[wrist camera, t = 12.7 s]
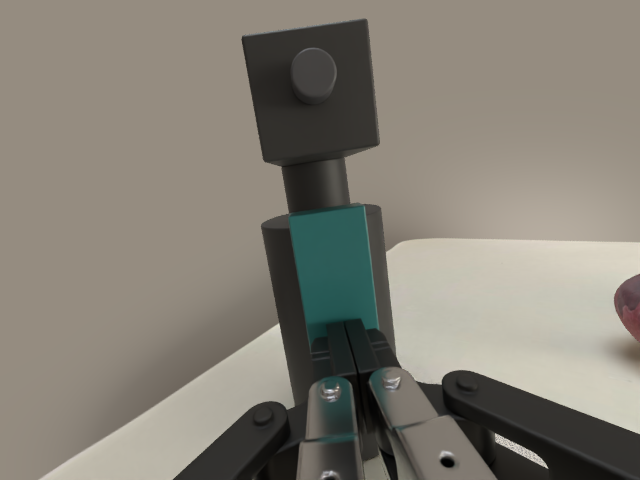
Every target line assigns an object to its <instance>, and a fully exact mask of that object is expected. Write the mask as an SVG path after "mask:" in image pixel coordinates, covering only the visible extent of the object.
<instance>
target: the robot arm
mask: <svg viewBox="0 0 640 480" xmlns="http://www.w3.org/2000/svg"><path fill="white" fill-rule="evenodd" d="M344 327H345V328H344ZM326 328H327V335H328V336H324V337H318V338H315V339H314V341H313V342H312V344H311V365H312V384H313V385H312V386H311V388H310V390H309V397H308V398H307V399H306V400H305V401H304V402H302V403H301V404H299V405H297V406H295V407H293V408H291V409H288V410H286V408H285V407H284V406H283V405H282V404H281V403H278V402H273V401H269V402H263V403H260V404H257V405H255V406H254V407H252V408H251V409H249V410H248V411H247V412H246V413H245V414H244V415H243V416H241V417H240V418H239V419H238V420H237V421H236V422H235V423H234V424H233V425H232V426H231V427H229V428H228V429H227V430H226V431H225V432H224V433H223V434H222V435H221V436H220V437H219V438H217V439H216V440H215V441H214V442H213V443H212V444H211V445H210V446H209V447H208V448H207V449H205V450H204V451H203V452H202V453H201V454H200V455H199V456H198V457H197V458H196V459H195V460H193V461H192V462H191V463H190V464H189V465H188V466H187V467H186V468H185V469H184V470H183V471H181V472H180V473H179V474H178V475H177V476H176V477H175V478H174V479H173V480H365V475H364V467H363V459H362V451H363V445H362V437H361V436H362V435H365V428H364V423H365V427H366V431H367V434H372V433H375V436H376V440H377V447H378V454H379V458H380V461H381V463H382V466H383V469H384V472H385V475H386V477H387V480H640V434H638V433H635V432H632V431H630V430H627V429H624V428H622V427H619V426H616V425H614V424H611V423H608V422H606V421H603V420H600V419H598V418H595V417H592V416H590V415H587V414H584V413H582V412H579V411H576V410H574V409H571V408H568V407H566V406H563V405H560V404H558V403H555V402H552V401H550V400H547V399H544V398H542V397H539V396H536V395H534V394H531V393H528V392H526V391H523V390H521V389H518V388H515V387H513V386H510V385H507V384H505V383H502V382H499V381H497V380H494V379H491V378H489V377H486V376H483V375H481V374H478V373H475V372H471V371H465V370H458V371H453V372H450V373H448V374H446V375H445V376H444V377H443V379H442V385H438V384H425V383H420V382H417V381H415V380H414V378H413V377H412V375H411V374H410V373H409V372H408V371H406V370H404V369H402V368H401V366H400V364H399V362H398V360H397V358H396V356H395V354H394V352H393V351H392V349H391V347H390V345H389V343H388V341H387V339H386V337H385V335H384V333H382V332H381V331H379V330H378V329H376V328H373V329H367V330H366V329H365V327H364V324H363V322H362V320H361V318H360V319H354V320H348V321H344V324H343V321H342V322H336V323H330V324H326ZM363 419H364V421H363ZM495 433H496V434H498V435H500V436H502V437H504V438H506V439H508V440H510V441H512V442H514V443H516V444H518V445H521V446H523V447H525V448H527V449H529V450H531V451H532V452H534V453H536V454H537V455H538V456H540V457H541V458H542V459H543V460H544V462H545V463H546V465H547V466H548V469H547V468H545V467H543V466H541V465H539V464H537V463H535V462H533V461H531V460H529V459H527V458H525V457H523V456H521V455H520V454H518V453H516V452H514V451H512V450H510V449H508V448H506V447H504V446H502V445H500V444H498V443H496V442H495Z"/></svg>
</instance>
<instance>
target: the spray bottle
mask: <svg viewBox="0 0 640 480" xmlns="http://www.w3.org/2000/svg"><path fill="white" fill-rule="evenodd" d="M242 44H243V50H244V55H245V60H246V67H247V72H248V78H249V83H250V89H251V94H252V100H253V106H254V111H255V116H256V122H257V128H258V134H259V139H260V144H261V150H262V156H263V160H264V161H265V162H267V163H271V164H274V165H278V166H281V167H282V174H283V180H284V186H285V192H286V197H287V204H288V209H289V214H290V213H293V212H300V211H306V210H313V209H320V208H326V207H333V206H339V205H346V204H350V198H349V190H348V182H347V174H346V166H345V158H344V157H347V156H350V155H353V154H356V153H358V152H362V151H364V150H367V149H370V148H373V147H376V146H378V145H379V144H380V139H379V129H378V119H377V109H376V100H375V89H374V79H373V69H372V59H371V50H370V39H369V29H368V21H367V19H358V20H350V21H343V22H336V23H329V24H322V25H314V26H307V27H300V28H293V29H285V30H278V31H271V32H264V33H257V34H249V35H244V36H242ZM362 205H364V206H365V211H366V220H367V228H368V237H369V246H370V255H371V263H372V272H373V281H374V289H375V298H376V307H377V316H378V324H379V331H381V332H382V333H384V335H385V337H386V339H387V341H388V343H389V345H390V347H391V349H392V351H393V352H394V354H395V356H396V348H395V338H394V329H393V319H392V310H391V300H390V290H389V281H388V271H387V261H386V252H385V243H384V232H383V223H382V213H381V208H380V207H379V206H377V205H370V204H362ZM289 214H286V215H282V216H278V217H275V218H273V219H270V220H267V221H266V222H264V223H262V225H261V228H262V234H263V238H264V244H265V249H266V255H267V260H268V265H269V271H270V275H271V281H272V287H273V292H274V297H275V302H276V308H277V312H278V318H279V323H280V329H281V334H282V339H283V345H284V350H285V355H286V360H287V366H288V371H289V376H290V382H291V387H292V392H293V397H294V403H295V406H297V405H299V404H301V403H302V402H304V401H305V400H306V399H307V398H308V397H309V390H310V388H311V386H312V385H313V384H312V365H311V352H310V346H309V340H308V334H307V328H306V322H305V317H304V311H303V305H302V299H301V293H300V287H299V281H298V275H297V269H296V264H295V258H294V252H293V246H292V240H291V234H290V228H289V222H288V217H289ZM363 421H364V419H363ZM364 428H365V435H362V436H361V437H362V445H363V451H362V459H363V461H364V460H368V459H370V458H373V457H375V456H377V455H379V454H378V447H377V440H376V436H375V433H372V434H367V431H366V427H365V423H364Z"/></svg>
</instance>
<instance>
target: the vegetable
mask: <svg viewBox="0 0 640 480" xmlns="http://www.w3.org/2000/svg"><path fill="white" fill-rule="evenodd" d="M614 304H615V309H616V312H617V314H618V316H619V318H620V319H621V321H622V323H623V324H624V326H625V327H626V329H627V330H628V331H629V332H630V333H631V335H632V336H633V337H634V338H635V339H636V340H637V341H639V342H640V274H638V275H636V276H634V277H632V278H630V279H628V280H626V281H625V282H624V283H623V284H621V285H620V287H619V288H618V289H617V291H616V293H615V296H614Z"/></svg>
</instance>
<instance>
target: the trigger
mask: <svg viewBox="0 0 640 480" xmlns="http://www.w3.org/2000/svg"><path fill="white" fill-rule="evenodd" d="M288 222H289V228H290V234H291V240H292V246H293V252H294V258H295V264H296V269H297V275H298V281H299V287H300V293H301V299H302V305H303V311H304V317H305V322H306V328H307V334H308V340H309V346H310V352H311V344H312V342H313V341H314V339H315V338H318V337H324V336H328V335H327V328H326V324H330V323H336V322H342V321H343V324H344V321H348V320H354V319H360V318H361V320H362V322H363V324H364V327H365V329H366V330H367V329H373V328H376V329H378V330H379V324H378V316H377V307H376V298H375V289H374V281H373V272H372V263H371V255H370V246H369V237H368V228H367V220H366V211H365V206H364V205H362V204H360V203H353V204H346V205H339V206H333V207H326V208H320V209H313V210H306V211H300V212H293V213H290V214H289V217H288ZM344 328H345V327H344Z"/></svg>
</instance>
